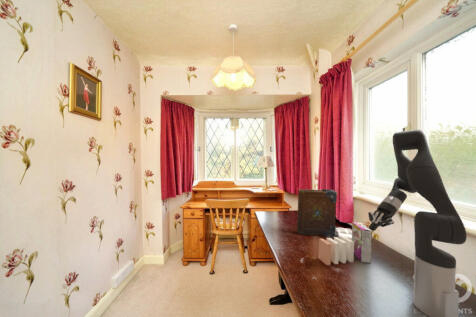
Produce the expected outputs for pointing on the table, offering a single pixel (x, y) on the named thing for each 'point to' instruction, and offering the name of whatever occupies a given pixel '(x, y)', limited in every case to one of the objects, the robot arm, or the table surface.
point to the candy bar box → (362, 241)
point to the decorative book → (316, 212)
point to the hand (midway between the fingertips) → (371, 229)
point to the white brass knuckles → (344, 233)
